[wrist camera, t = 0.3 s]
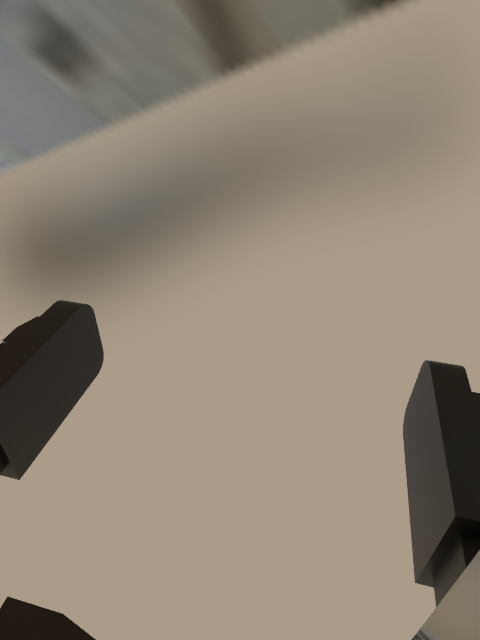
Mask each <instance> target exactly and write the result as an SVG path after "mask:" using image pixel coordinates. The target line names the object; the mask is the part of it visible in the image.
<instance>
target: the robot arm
mask: <svg viewBox="0 0 480 640" xmlns="http://www.w3.org/2000/svg"><path fill="white" fill-rule="evenodd" d="M103 356H104V355H103V348H102V343H101V339H100V335H99V331H98V327H97V323H96V318H95V314H94V310H93V309H92V307H91V306H90V305H88V304H81V303H75V302H69V301H62V300H60V301H57V302H56V303H54V304H53V305H52V306H51V307H50V308H49V309H48V310H47V311H46V312H45V313H43V314H42V315H41V316H40V317H35V318H34V319H32V320H30V321H28V322H26V323H24V324H22V325H20V326H18V327H17V328H16V329H14V330H13V331H12V332H11V333H10V334H9V335H8V336H7V337H6V338H5V339H3V340H2V343H1V344H0V475H3V476H6V477H10V478H14V479H18V480H20V478H21V477H22V476H23V474H24V473H25V472H26V470H27V469H28V468H29V467H30V465H31V464H32V462H33V461H34V460H35V458H36V457H37V456H38V454H39V453H40V452H41V450H42V449H43V447H44V446H45V445H46V444H47V442H48V441H49V440H50V438H51V437H52V435H53V434H54V433H55V431H56V430H57V429H58V427H59V426H60V425H61V423H62V422H63V421H64V419H65V418H66V417H67V415H68V414H69V413H70V411H71V410H72V409H73V407H74V406H75V404H76V403H77V402H78V400H79V399H80V398H81V396H82V395H83V394H84V392H85V391H86V390H87V388H88V387H89V386H90V384H91V383H92V382H93V380H94V379H95V378H96V376H97V375H98V373H99V371H100V369H101V367H102V363H103ZM403 425H404V426H403V438H404V451H405V463H406V476H407V488H408V500H409V513H410V525H411V538H412V550H413V562H414V575H415V583H418V584H422V585H426V586H430V587H434V591H435V600H436V609H435V610H434V611H433V613H432V614H431V615H430V617H429V618H428V620H427V621H426V622H425V623H424V625H423V626H422V627H421V629H420V630H419V631H418V632H417V634H416V635H415V636H414V638H413V639H412V640H480V393H475V392H471V388H470V385H469V381H468V377H467V374H466V370H465V368H464V367H463V366H459V365H453V364H446V363H441V362H435V361H428V360H426V361H425V362H424V363H423V364H422V367H421V369H420V372H419V375H418V378H417V380H416V383H415V386H414V388H413V391H412V394H411V396H410V399H409V402H408V405H407V408H406V411H405V416H404V424H403ZM0 640H95V639H94V638H93V637H92V636H90V635H89V634H88V633H86V632H85V631H84V630H83V629H81V628H80V627H79V626H78V625H76V624H75V623H74V622H72V621H71V620H70V619H68V618H67V617H66V616H65V615H64V614H61V613H58V612H55V611H52V610H49V609H45V608H42V607H39V606H36V605H33V604H30V603H26V602H23V601H20V600H17V599H14V598H10V597H7V598H6V600H5V602H4V603H3V605H2V606H1V608H0Z"/></svg>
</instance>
